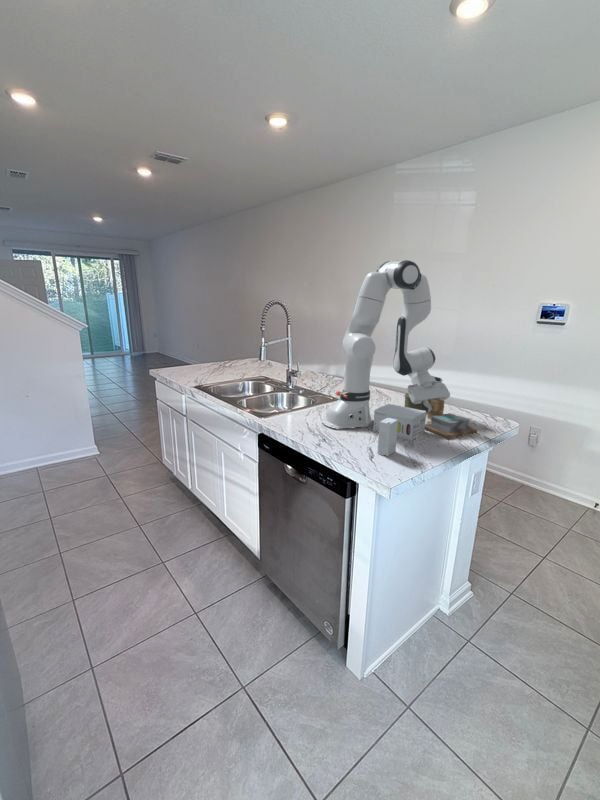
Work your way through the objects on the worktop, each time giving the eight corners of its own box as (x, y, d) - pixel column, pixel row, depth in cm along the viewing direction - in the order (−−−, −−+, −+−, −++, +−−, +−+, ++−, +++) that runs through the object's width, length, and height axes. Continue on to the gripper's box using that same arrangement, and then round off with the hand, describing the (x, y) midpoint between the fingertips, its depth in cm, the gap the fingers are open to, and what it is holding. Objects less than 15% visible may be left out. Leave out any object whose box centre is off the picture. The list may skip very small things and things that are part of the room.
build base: (446, 439, 142) (448, 425, 140) (421, 428, 154) (422, 415, 153) (476, 433, 148) (478, 419, 146) (450, 423, 160) (451, 410, 159)
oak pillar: (434, 421, 163) (436, 401, 160) (427, 418, 167) (429, 399, 164) (442, 420, 165) (444, 400, 162) (435, 417, 169) (437, 398, 166)
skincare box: (384, 448, 133) (386, 416, 130) (396, 451, 130) (398, 419, 127) (376, 453, 129) (378, 421, 126) (388, 457, 126) (390, 423, 123)
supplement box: (372, 431, 151) (373, 409, 149) (387, 423, 161) (388, 403, 159) (411, 441, 141) (413, 417, 138) (425, 432, 150) (427, 410, 148)
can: (433, 408, 182) (434, 395, 181) (423, 414, 174) (424, 400, 172) (410, 404, 190) (411, 391, 188) (399, 409, 181) (400, 395, 180)
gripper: (409, 381, 163) (422, 408, 157) (444, 377, 171) (458, 403, 165) (402, 389, 168) (414, 415, 162) (436, 385, 176) (449, 409, 170)
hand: (437, 409), depth 164 cm, fingers closed on oak pillar, 4 cm apart
